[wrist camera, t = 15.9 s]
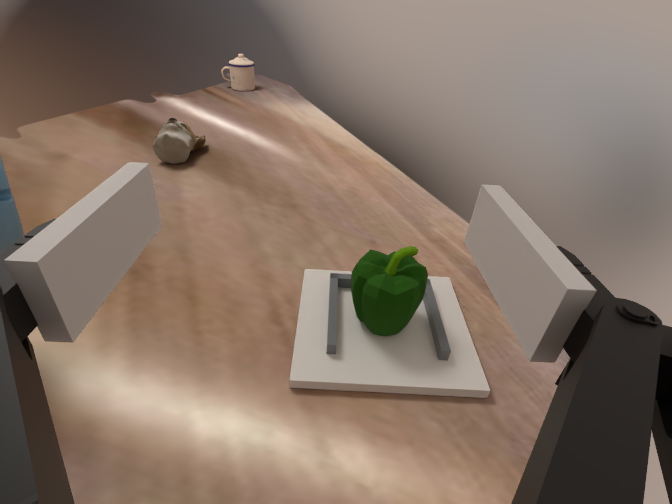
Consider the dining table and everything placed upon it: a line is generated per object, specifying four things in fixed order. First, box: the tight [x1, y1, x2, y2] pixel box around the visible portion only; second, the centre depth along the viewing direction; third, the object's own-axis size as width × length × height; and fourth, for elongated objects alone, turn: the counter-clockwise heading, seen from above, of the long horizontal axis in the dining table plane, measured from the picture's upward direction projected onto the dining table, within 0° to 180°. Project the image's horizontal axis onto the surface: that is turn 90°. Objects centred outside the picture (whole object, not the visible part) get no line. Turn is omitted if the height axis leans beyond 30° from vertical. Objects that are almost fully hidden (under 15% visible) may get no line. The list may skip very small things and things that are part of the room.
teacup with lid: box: [222, 54, 255, 91], centre depth 139 cm, size 12×9×12 cm
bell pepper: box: [351, 246, 428, 336], centre depth 42 cm, size 8×8×10 cm
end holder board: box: [290, 269, 490, 398], centre depth 45 cm, size 20×18×3 cm
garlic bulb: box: [153, 118, 206, 164], centre depth 83 cm, size 11×9×15 cm
